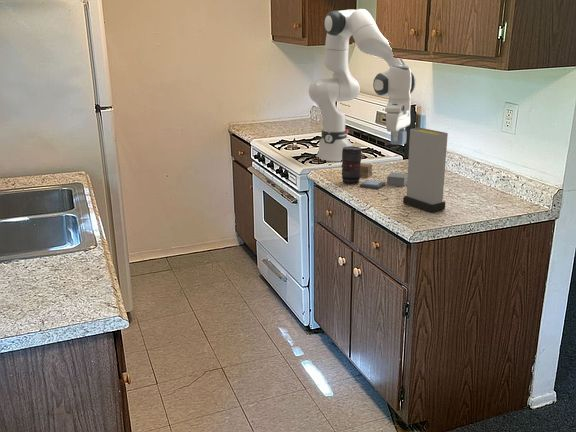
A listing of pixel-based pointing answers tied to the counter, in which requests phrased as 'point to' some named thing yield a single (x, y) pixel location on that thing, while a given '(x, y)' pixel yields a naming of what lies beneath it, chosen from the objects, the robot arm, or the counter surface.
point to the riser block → (397, 179)
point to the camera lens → (351, 164)
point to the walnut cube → (366, 170)
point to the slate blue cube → (401, 138)
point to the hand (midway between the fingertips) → (398, 139)
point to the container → (426, 169)
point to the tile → (372, 184)
